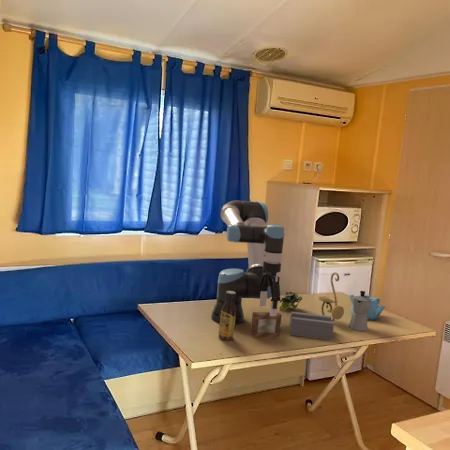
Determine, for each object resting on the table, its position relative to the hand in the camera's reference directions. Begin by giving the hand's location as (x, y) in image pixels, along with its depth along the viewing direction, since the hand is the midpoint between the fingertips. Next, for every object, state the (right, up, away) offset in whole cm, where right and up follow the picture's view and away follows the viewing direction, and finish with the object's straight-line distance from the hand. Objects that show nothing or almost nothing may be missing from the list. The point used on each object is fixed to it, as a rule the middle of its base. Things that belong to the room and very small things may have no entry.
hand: (267, 310), depth 194 cm
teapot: (+54, -11, +42) cm, 69 cm away
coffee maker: (+45, -12, +23) cm, 52 cm away
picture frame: (-1, -11, +2) cm, 11 cm away
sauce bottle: (-18, -11, -4) cm, 21 cm away
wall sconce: (+32, -11, +27) cm, 43 cm away
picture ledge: (+20, -12, +11) cm, 25 cm away
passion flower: (+15, -8, +41) cm, 44 cm away
